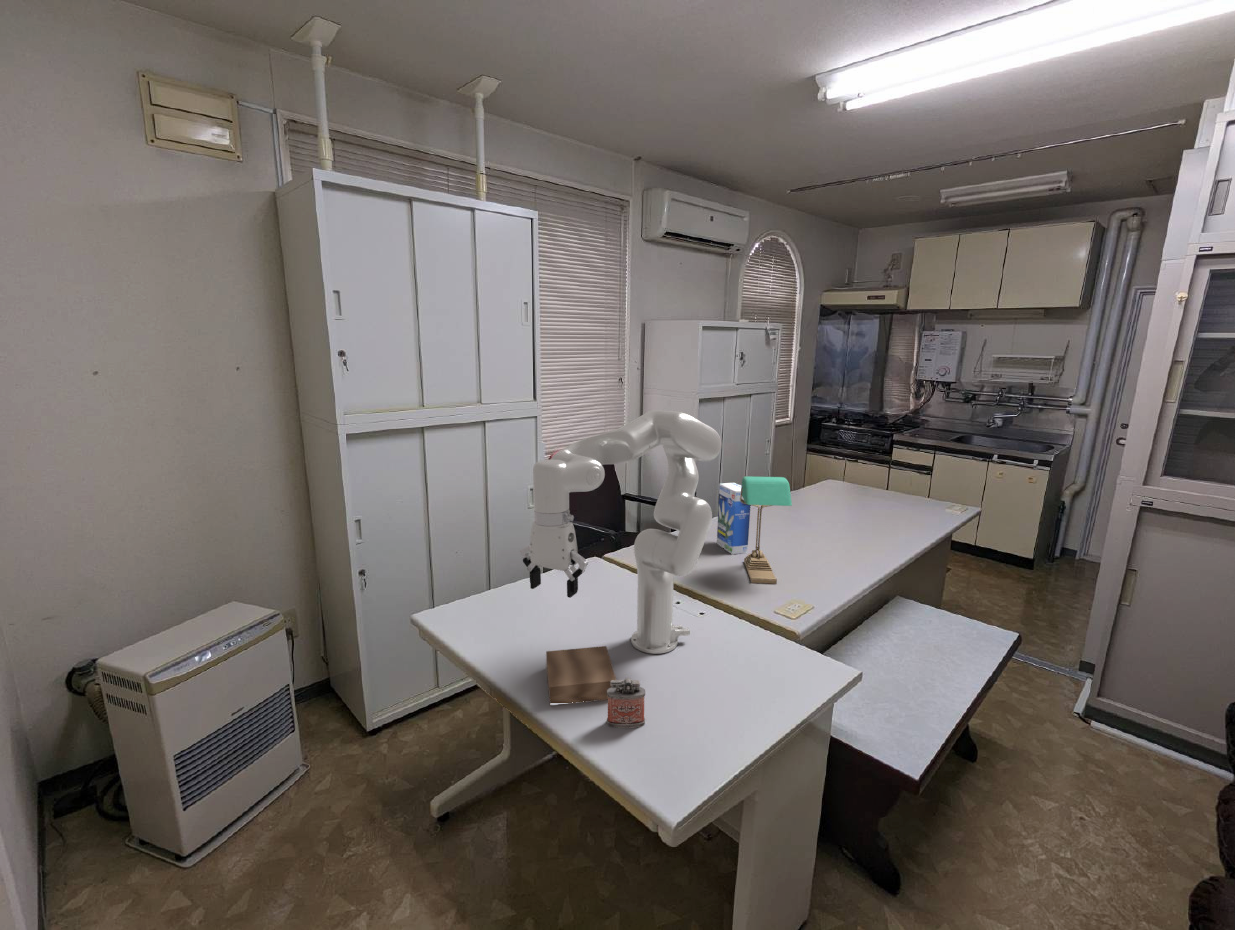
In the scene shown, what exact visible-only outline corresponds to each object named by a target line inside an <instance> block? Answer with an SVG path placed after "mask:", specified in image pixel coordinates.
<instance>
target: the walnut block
mask: <svg viewBox="0 0 1235 930" xmlns="http://www.w3.org/2000/svg"><path fill="white" fill-rule="evenodd" d="M545 657H546V659H545V661H546V676H548V678H547V685H548V687H547V688H549V689H548V698H549V699H550V701H549V704H550V703H572V702H573V703H572V704H577V703H576V702H582V703H587V702H586V701H591V702H595V701H594V700H600V701H608V700H607V699H608V696H607V690H608V689H609V688H611V687H610V681H611V680H617V678H616V674H615V670H614V667H613V664H612V662H611V658H610V655H609V652H608V648H607V645H604V646H592V647H591V646H590V647H580V648H570V649H559V650H547V651H546V653H545ZM583 701H584V702H583Z"/></svg>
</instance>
